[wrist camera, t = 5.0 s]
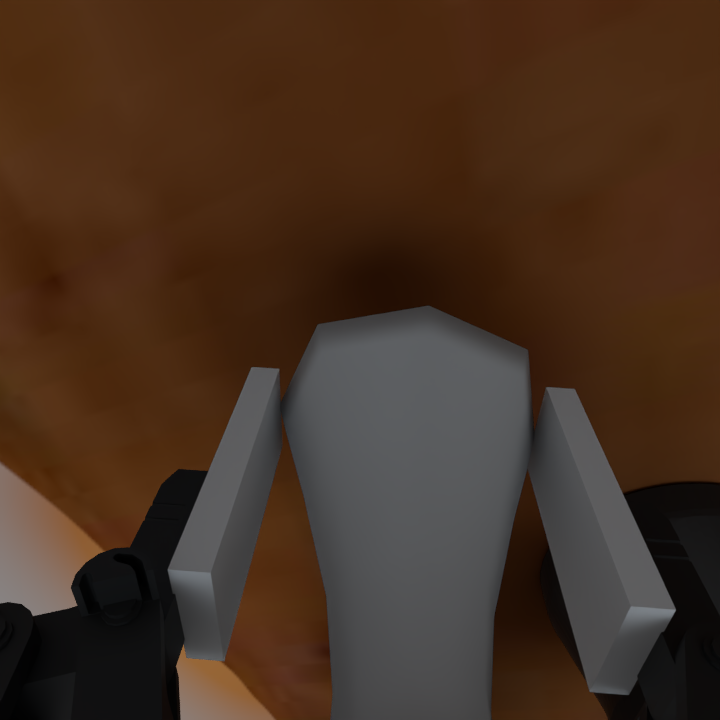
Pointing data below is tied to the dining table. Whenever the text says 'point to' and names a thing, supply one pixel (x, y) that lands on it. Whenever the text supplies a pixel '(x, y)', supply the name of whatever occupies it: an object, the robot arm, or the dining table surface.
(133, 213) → the dining table surface
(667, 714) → the robot arm
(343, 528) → the flask
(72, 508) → the dining table surface
